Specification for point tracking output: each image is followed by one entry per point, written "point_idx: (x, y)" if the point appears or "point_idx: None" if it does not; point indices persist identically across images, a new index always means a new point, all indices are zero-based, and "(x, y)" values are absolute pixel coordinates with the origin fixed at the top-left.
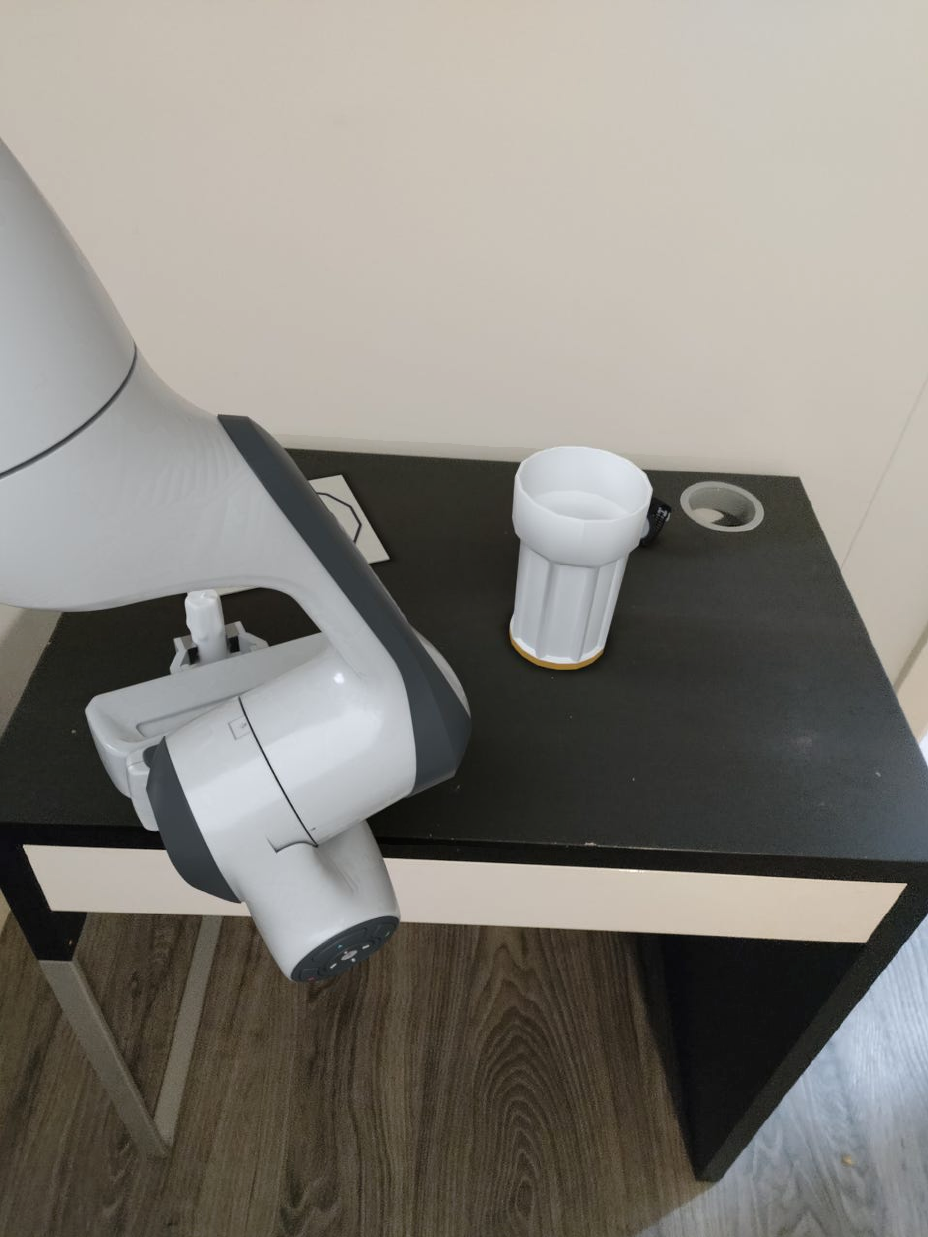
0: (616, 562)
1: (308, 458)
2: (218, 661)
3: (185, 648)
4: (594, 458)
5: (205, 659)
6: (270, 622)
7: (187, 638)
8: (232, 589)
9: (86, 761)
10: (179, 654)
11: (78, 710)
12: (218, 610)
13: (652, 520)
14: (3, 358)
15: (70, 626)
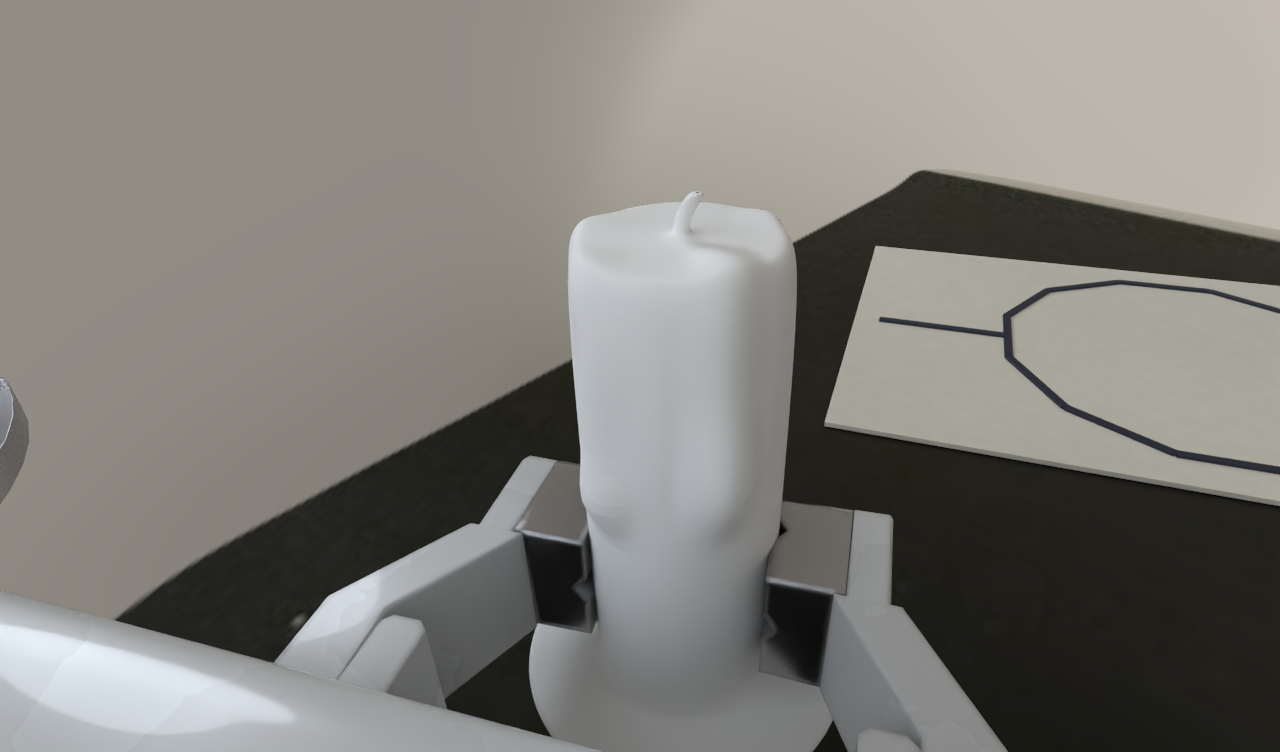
0: None
1: (1256, 250)
2: (541, 740)
3: (519, 525)
4: None
5: (613, 634)
6: (1032, 580)
7: (576, 481)
8: (950, 438)
9: None
10: (460, 542)
11: (369, 566)
12: (732, 357)
13: None
14: None
15: (550, 376)
